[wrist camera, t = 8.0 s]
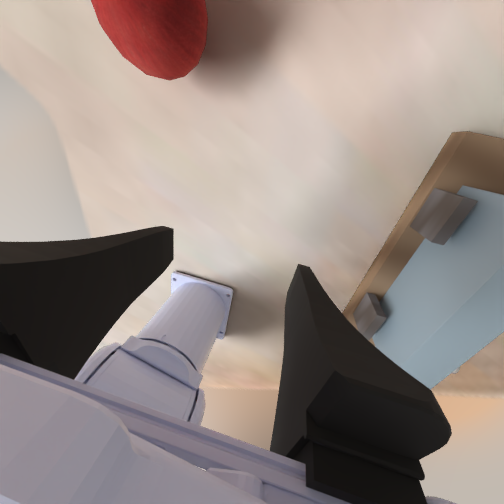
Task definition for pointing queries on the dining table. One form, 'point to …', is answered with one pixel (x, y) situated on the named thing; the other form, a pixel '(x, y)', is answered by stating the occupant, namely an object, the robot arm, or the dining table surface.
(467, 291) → the pale blue rectangular block
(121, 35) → the onion
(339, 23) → the dining table surface
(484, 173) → the rail
